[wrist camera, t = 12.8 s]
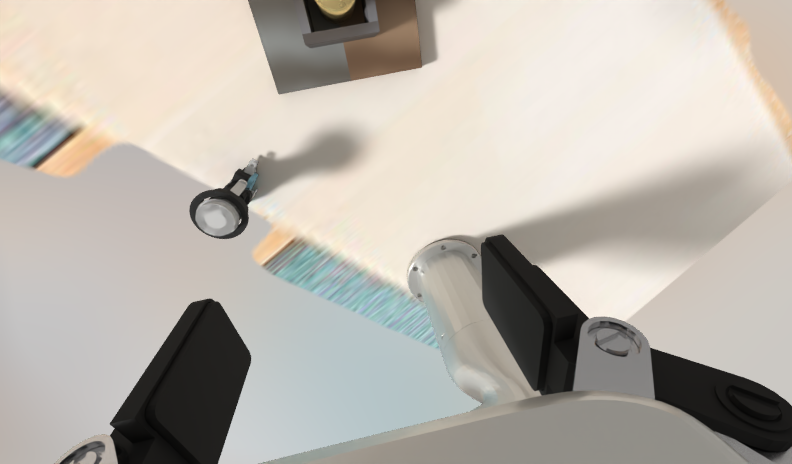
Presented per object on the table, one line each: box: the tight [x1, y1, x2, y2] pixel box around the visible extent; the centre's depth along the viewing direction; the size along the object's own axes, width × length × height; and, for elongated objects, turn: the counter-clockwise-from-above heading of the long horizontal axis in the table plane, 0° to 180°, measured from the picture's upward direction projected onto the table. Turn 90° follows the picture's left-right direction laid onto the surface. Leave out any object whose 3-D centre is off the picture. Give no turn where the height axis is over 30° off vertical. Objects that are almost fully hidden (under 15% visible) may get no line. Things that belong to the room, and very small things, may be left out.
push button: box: [190, 159, 258, 239], centre depth 34 cm, size 7×5×10 cm
